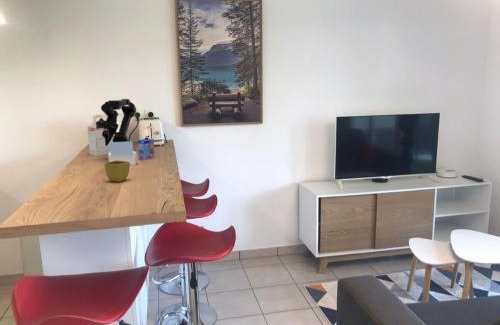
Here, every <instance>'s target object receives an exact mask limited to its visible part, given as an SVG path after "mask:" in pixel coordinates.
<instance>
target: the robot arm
mask: <svg viewBox="0 0 500 325" xmlns="http://www.w3.org/2000/svg"><path fill="white" fill-rule="evenodd" d="M100 110H101V111H102V112H103V113H104V114H105V116H106V120H104V119H103V117H100V118H99V120H97V121H95V126H96V128H97V129H99V128H104V129H107V130H104V131H103V132H102V136H103V137H104V138H105V145H106V146H107V145H108V144H109V142H110V141H111V139H112V137H113V136H114V138H113V142H130V141H129V139H128V138H129V137H128V136H127V133H128V129H129V125H130V123H131V120H132V118H133V117H135V115H136V113H137V108H136V105H135V104H134V103H133V102H132V101H131V100H130V99H129V98H122V99H116V100H115V99H114V100H112V99H111V100H107V101H105V102H104V103H103V104H102V105H101V106H100ZM119 110H121V111H122V114H123V116H122V120H121V123H120V127H119V123H117V122H118V116H119V112H118V111H119ZM118 129H119V130H118Z"/></svg>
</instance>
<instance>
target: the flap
mask: <svg viewBox="0 0 500 325" xmlns="http://www.w3.org/2000/svg"><path fill="white" fill-rule="evenodd" d="M110 146H111V155H118V154H133V151H134V146H133V140H131V141H129V142H110Z"/></svg>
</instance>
